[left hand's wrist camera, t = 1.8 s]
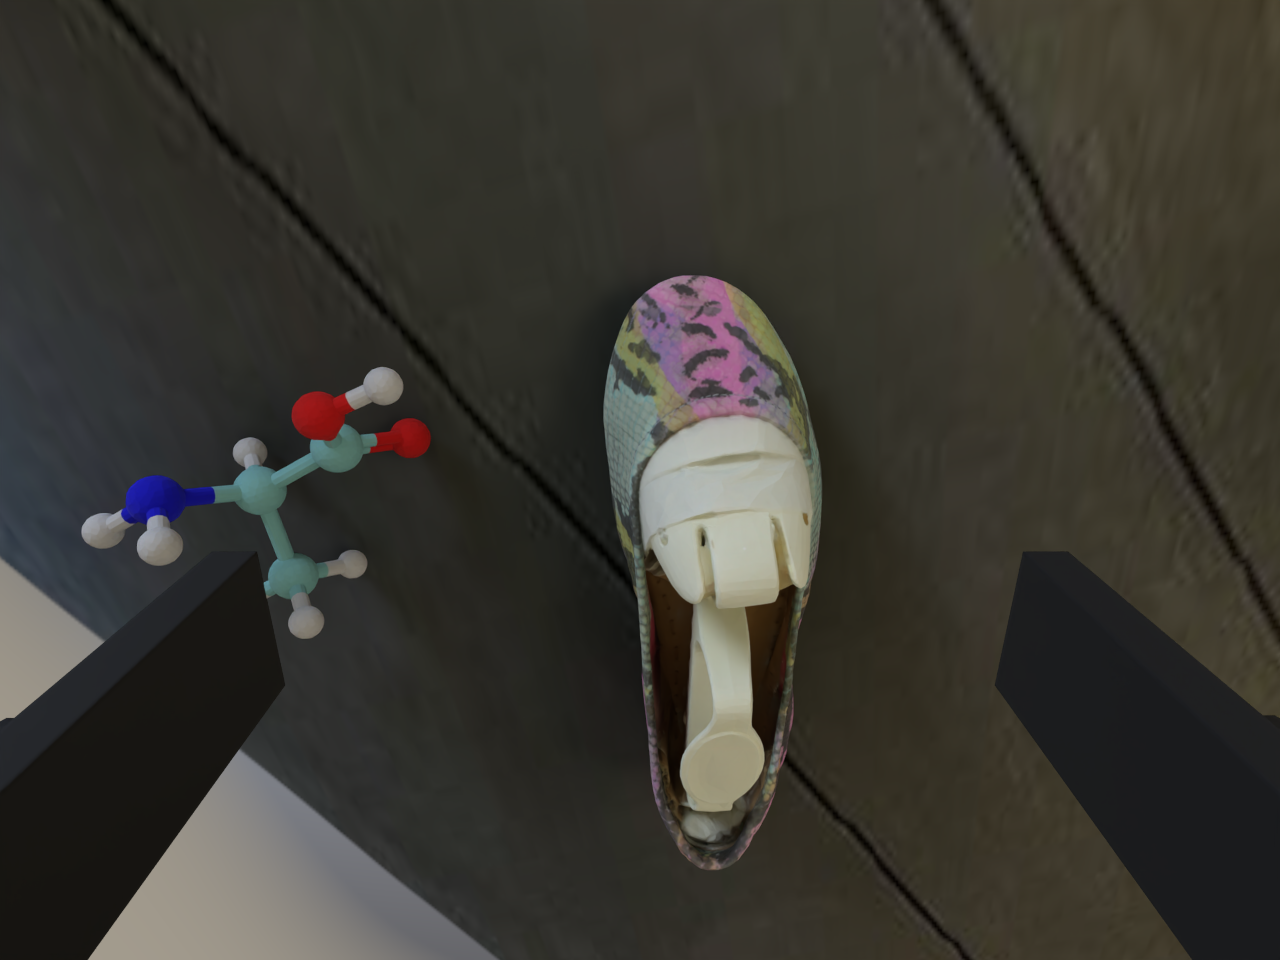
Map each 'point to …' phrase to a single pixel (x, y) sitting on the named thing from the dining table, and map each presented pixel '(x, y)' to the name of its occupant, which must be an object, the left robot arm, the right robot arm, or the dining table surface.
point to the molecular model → (272, 492)
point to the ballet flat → (713, 548)
